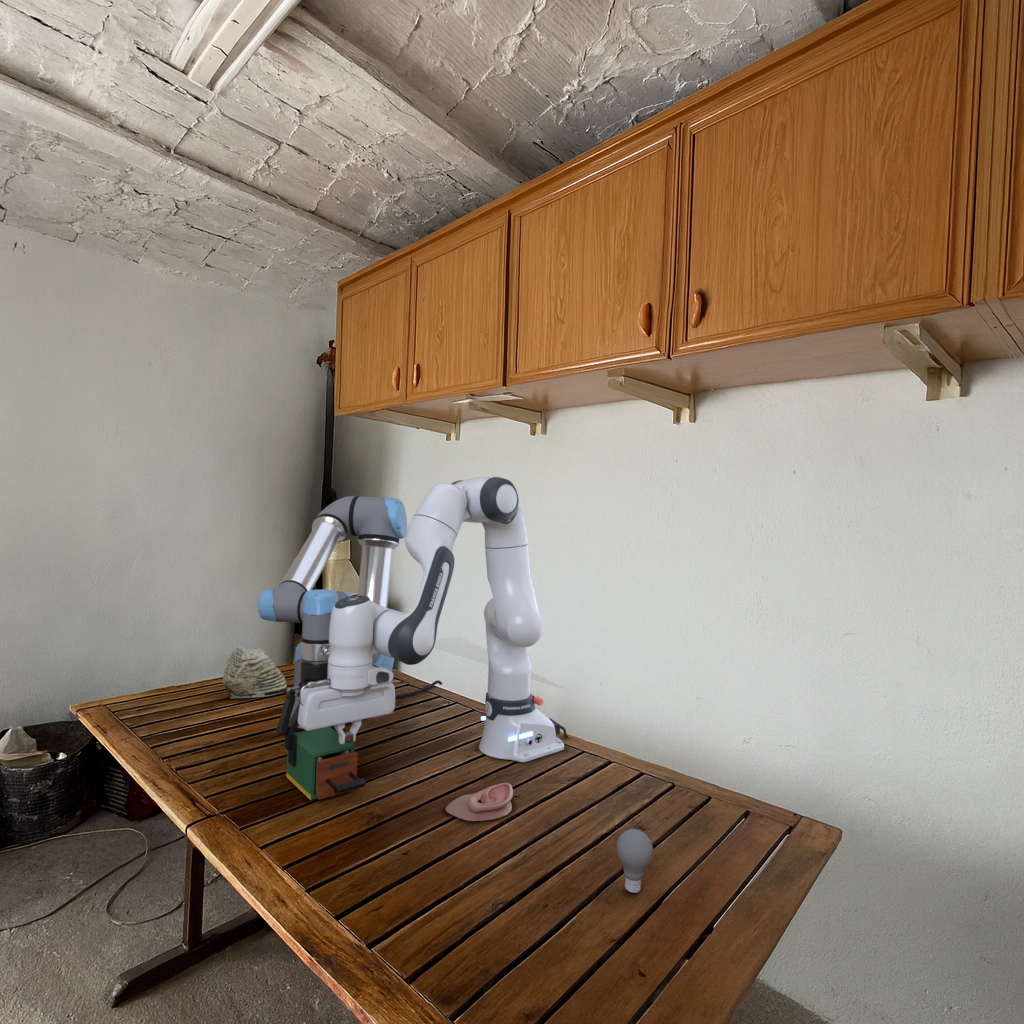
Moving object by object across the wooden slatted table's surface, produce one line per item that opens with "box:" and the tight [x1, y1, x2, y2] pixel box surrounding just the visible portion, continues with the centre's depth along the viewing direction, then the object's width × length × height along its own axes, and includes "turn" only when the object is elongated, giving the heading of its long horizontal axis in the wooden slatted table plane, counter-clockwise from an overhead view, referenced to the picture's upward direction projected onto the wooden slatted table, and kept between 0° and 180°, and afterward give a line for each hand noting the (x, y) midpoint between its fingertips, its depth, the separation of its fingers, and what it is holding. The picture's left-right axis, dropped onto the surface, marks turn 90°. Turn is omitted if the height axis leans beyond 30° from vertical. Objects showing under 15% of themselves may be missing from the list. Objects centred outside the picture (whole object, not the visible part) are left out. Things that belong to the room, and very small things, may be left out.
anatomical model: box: [444, 782, 514, 822], centre depth 131 cm, size 13×4×12 cm
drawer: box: [314, 750, 366, 801], centre depth 135 cm, size 18×8×8 cm, turn 40°
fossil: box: [222, 646, 288, 699], centre depth 198 cm, size 9×18×15 cm, turn 132°
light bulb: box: [615, 828, 654, 894], centre depth 106 cm, size 6×6×10 cm
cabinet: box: [285, 727, 356, 801], centre depth 140 cm, size 14×10×10 cm
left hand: (314, 758), depth 142 cm, fingers closed on cabinet, 10 cm apart
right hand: (347, 742), depth 131 cm, fingers closed
